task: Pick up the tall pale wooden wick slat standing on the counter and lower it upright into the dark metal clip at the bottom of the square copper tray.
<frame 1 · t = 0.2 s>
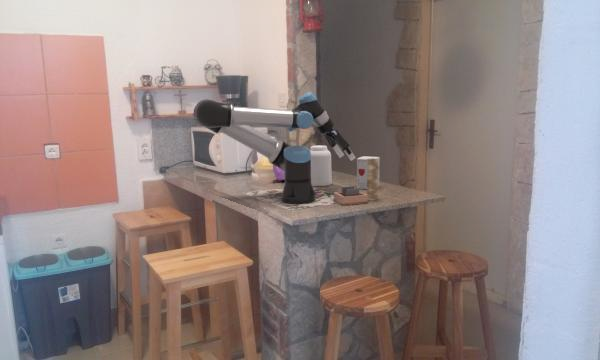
hand: (347, 157, 231), 15 cm above the worktop, tool tilted 35°, fingers open, 13 cm apart
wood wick: (372, 199, 210), on the worktop
supplement box: (368, 188, 237), on the worktop
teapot: (286, 181, 261), on the worktop
can: (319, 184, 249), on the worktop
square copper tray: (350, 201, 207), on the worktop
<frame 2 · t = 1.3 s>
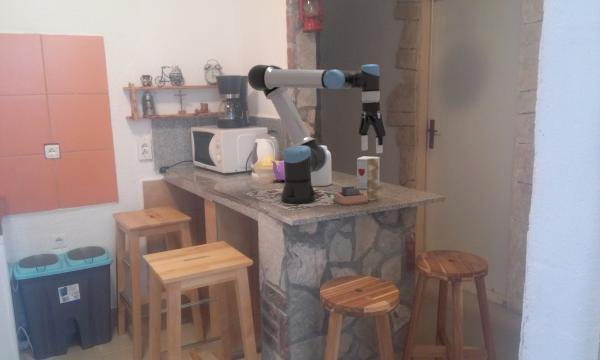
hand: (371, 151, 208), 21 cm above the worktop, tool pointing down, fingers open, 13 cm apart
nothing on the worktop moved.
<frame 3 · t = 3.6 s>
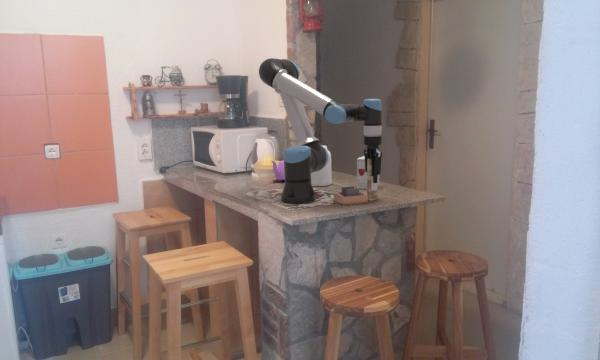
hand: (372, 189, 210), 5 cm above the worktop, tool pointing down, fingers closed on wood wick, 2 cm apart
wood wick: (372, 199, 210), on the worktop, touching gripper
everything else where it was.
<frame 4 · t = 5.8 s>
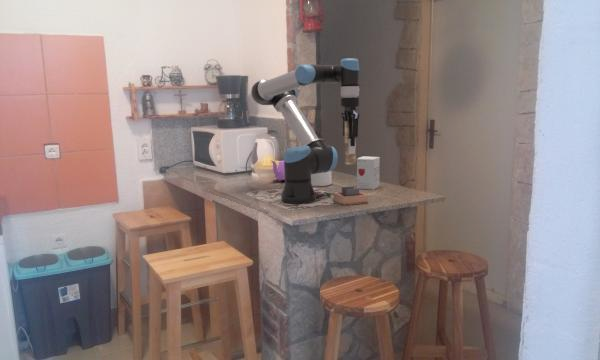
hand: (350, 153, 204), 21 cm above the worktop, tool pointing down, fingers closed on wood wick, 2 cm apart
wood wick: (350, 163, 204), point 16 cm above the worktop, touching gripper
everything else where it was.
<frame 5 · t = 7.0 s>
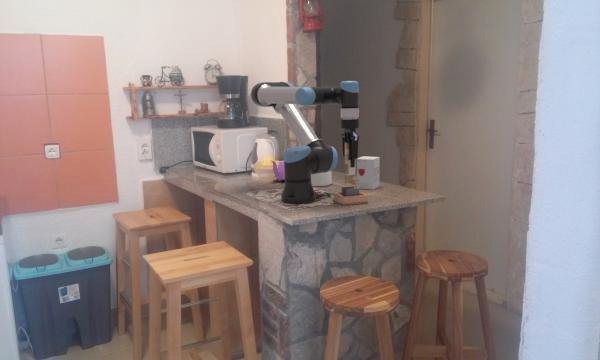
hand: (350, 174, 205), 12 cm above the worktop, tool pointing down, fingers closed on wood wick, 2 cm apart
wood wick: (350, 184, 206), point 8 cm above the worktop, touching gripper
everything else where it was.
when the fingers open (7 cm above the worktop, at t = 8.1 s): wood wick drops 2 cm, resting on square copper tray.
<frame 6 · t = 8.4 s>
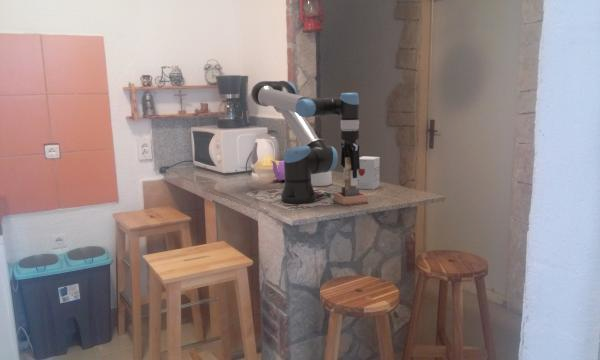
hand: (350, 183, 206), 8 cm above the worktop, tool pointing down, fingers open, 7 cm apart
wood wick: (350, 199, 207), point 1 cm above the worktop, touching square copper tray
everything else where it was.
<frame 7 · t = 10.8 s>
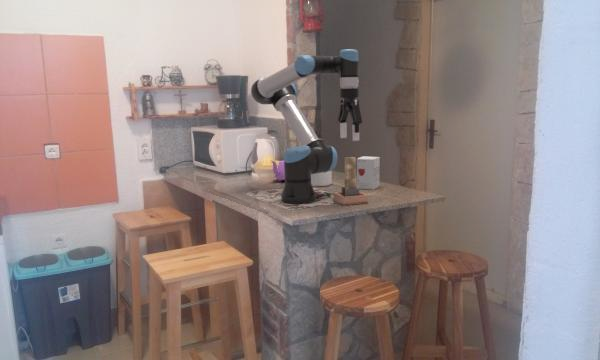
hand: (349, 139, 203), 27 cm above the worktop, tool pointing down, fingers open, 13 cm apart
nothing on the worktop moved.
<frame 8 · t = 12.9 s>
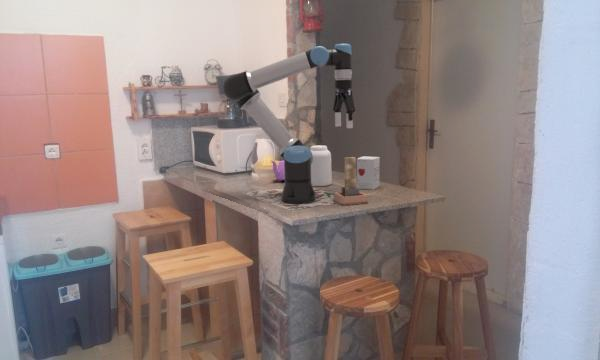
hand: (343, 127, 220), 31 cm above the worktop, tool pointing down, fingers open, 13 cm apart
nothing on the worktop moved.
at the end: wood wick 0.0 cm off-centre on the square copper tray, point 1.1 cm above the square copper tray's base; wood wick tilted 0°; the gripper is holding nothing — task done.
